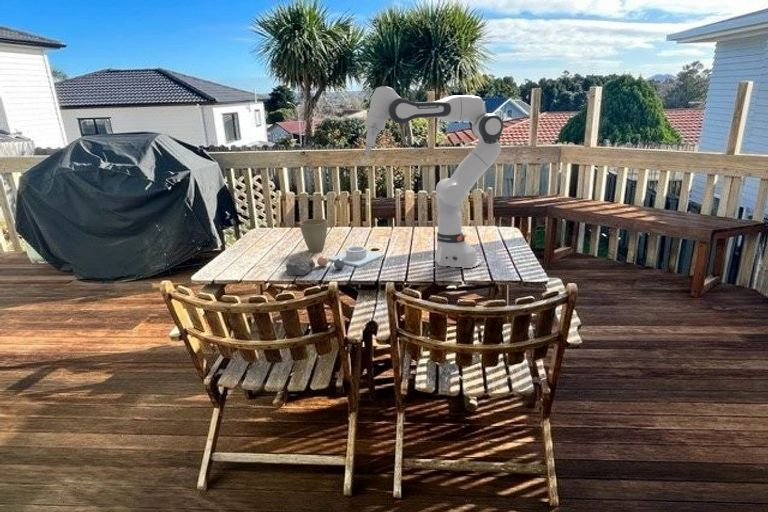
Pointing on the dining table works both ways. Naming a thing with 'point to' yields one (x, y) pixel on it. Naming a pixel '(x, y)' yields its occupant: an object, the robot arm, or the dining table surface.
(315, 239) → the plant pot
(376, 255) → the ring plate
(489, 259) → the dining table surface
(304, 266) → the rock
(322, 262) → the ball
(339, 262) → the steel ball
